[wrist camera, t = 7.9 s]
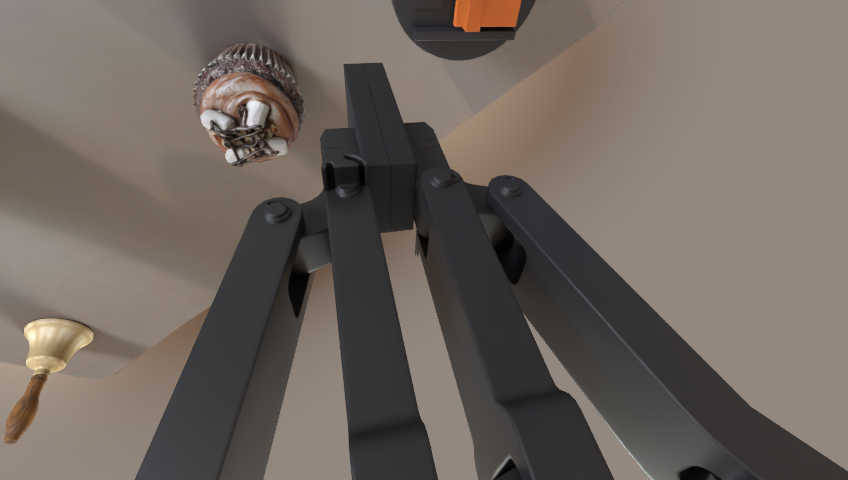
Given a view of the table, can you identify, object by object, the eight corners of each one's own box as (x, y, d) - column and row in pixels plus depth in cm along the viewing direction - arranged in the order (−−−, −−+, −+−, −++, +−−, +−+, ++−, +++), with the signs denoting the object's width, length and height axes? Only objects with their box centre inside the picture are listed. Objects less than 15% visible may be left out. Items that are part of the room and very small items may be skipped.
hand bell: (14, 337, 61) (-45, 451, 50) (38, 311, 58) (-19, 426, 47) (79, 351, 66) (38, 456, 56) (104, 328, 63) (66, 434, 53)
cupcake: (322, 102, 44) (326, 157, 37) (244, 138, 45) (235, 197, 39) (267, 14, 37) (261, 63, 30) (177, 60, 38) (152, 116, 31)
